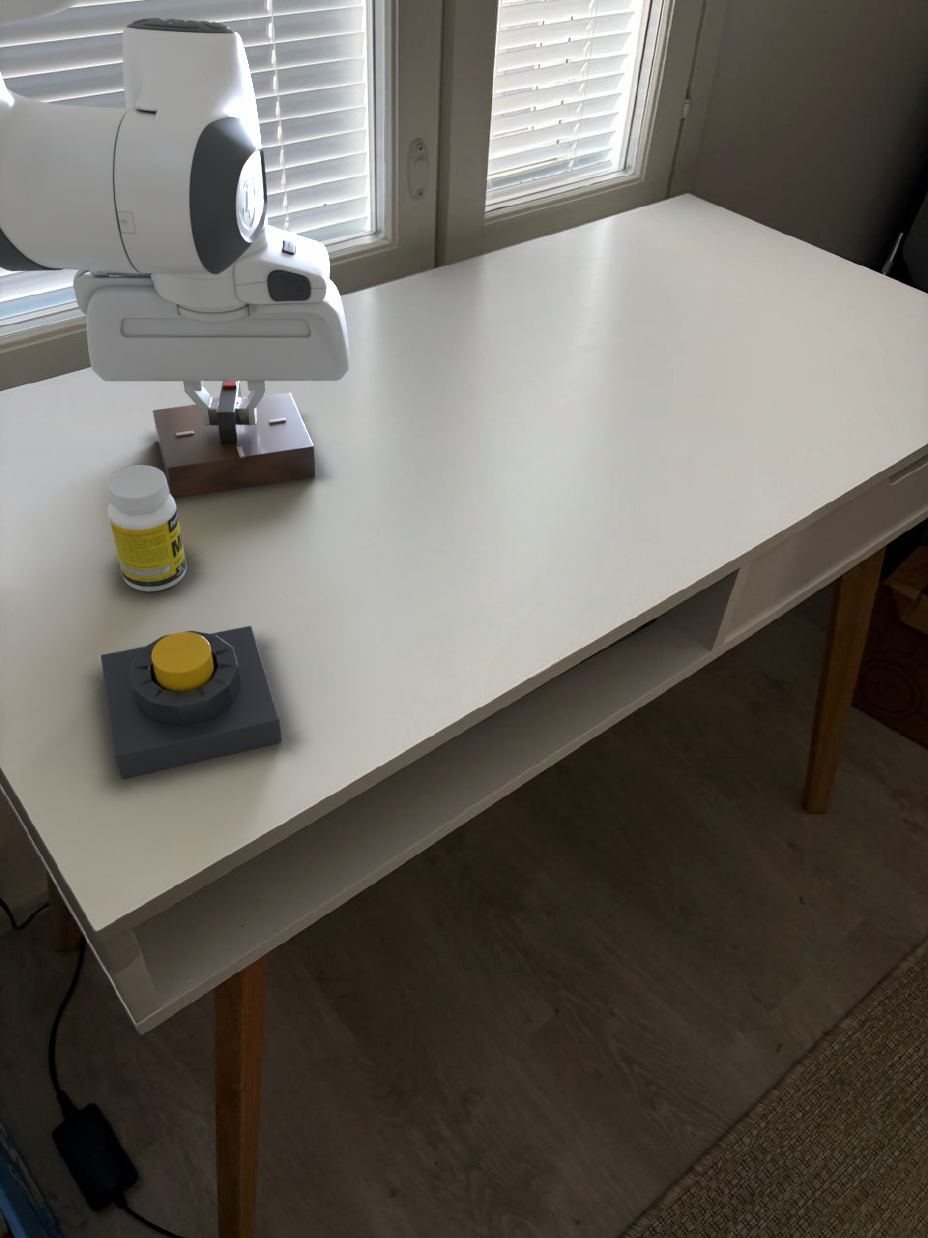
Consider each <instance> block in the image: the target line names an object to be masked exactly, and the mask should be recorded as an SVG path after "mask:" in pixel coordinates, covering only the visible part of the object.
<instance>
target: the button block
mask: <svg viewBox="0 0 928 1238" xmlns="http://www.w3.org/2000/svg"><path fill="white" fill-rule="evenodd" d="M185 632H190V633H195V634H198V635H201V636H202V637H204V638H205V639H206V640H207V641H208V642H209V644H210V647H211V653H212V659H213V665H214V671H213V674H212V676H211V678H210V679H209V680H208V681H207V682H206V683H205V684H204V685H202V686H201V687H199V688H197V689H192V690H188V691H183V692H177V691H171V690H168V689H166V688H164V687H163V686H161V685H160V684H159V682H158V681H157V679H156V676H155V671H154V667H153V662H152V657H151V655H152V650H153V648H154V647H155V645H156V644H157V643H158V642H159V641H160V640H161V639H163V638H165V637H166V636H169V635H171V634H172V633H170V634H164V635H161V636H160V637H159V638H157V639H155V640H154V641H152V642H150V643H148V644H147V645H145V646H144V645H143V646H139V647H134V648H129V649H123V650H119V651H115V652H109V653H104V654H100V662H101V669H102V676H103V683H104V690H105V697H106V704H107V712H108V719H109V726H110V733H111V734H110V735H111V740H112V747H113V754H114V759H115V764H116V766H117V770H118V774H119V776H120V779H126V778H130V777H131V778H132V777H135V776H140V775H144V774H148V773H153V772H157V771H161V770H166V769H170V768H174V767H179V766H184V765H187V764H192V763H197V762H201V761H205V760H210V759H214V758H218V757H222V756H223V757H224V756H226V755H227V756H228V755H231V754H235V753H239V752H244V751H245V752H246V751H249V750H252V749H258V748H262V747H266V746H270V745H275V744H279V743H282V741H283V739H282V728H281V719H280V716H279V712H278V709H277V706H276V702H275V700H274V695H273V692H272V689H271V686H270V682H269V679H268V675H267V672H266V668H265V665H264V662H263V658H262V655H261V652H260V649H259V645H258V641H257V638H256V635H255V632H254V629H253V626H252V625H248V626H243V627H242V626H241V627H237V628H232V629H227V630H223V631H216V632H212V633H208V632H202V631H196V630H186V631H185Z"/></svg>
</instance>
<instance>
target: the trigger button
mask: <svg viewBox="0 0 928 1238" xmlns="http://www.w3.org/2000/svg"><path fill="white" fill-rule="evenodd" d="M170 634H171V635H170ZM170 634H168V635H169V636H166V637H165V638H163V639H161V640H160V641H159V642H158V643H157V644H156V645H155V647H154V648H153V650H152V655H151V657H152V662H153V667H154V671H155V676H156V679H157V681H158V682H159V684H160V685H161V686H163V687H164V688H166V689H168V690H171V691H177V692H183V691H188V690H192V689H197V688H199V687H201V686H202V685H204V684H205V683H206V682H207V681H208V680H209V679H210V678H211V676H212V674H213V671H214V665H213V659H212V653H211V647H210V644H209V642H208V641H207V640H206V639H205V638H204V637H202V636H201V635H198V634H195V633H190V632H186V631H181V632H176V633H170Z"/></svg>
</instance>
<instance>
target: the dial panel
mask: <svg viewBox="0 0 928 1238" xmlns="http://www.w3.org/2000/svg"><path fill="white" fill-rule="evenodd" d="M256 409H257V422H256V425H240V431H239V437H238V443H237V444H228V443H221V442H220V435H219V427H218V425H204V423H203V416H202V410H201V409H200V408H199V407H198V406H197V405H196V404H190V405H182V406H174V407H166V408H160V409H153V410H152V416H153V421H154V427H155V432H156V437H157V442H158V446H159V451H160V455H161V459H162V462H163V463H162V464H163V467H164V470H165V471H164V472H165V474H166V475H165V476H166V480H167V484H168V488H169V492H170V495H171V496H172V497H173V499H176V498H184V497H189V496H194V495H195V496H196V495H202V494H209V493H215V492H221V491H227V490H234V489H240V488H241V489H242V488H246V487H254V486H259V485H265V484H273V483H278V482H284V481H292V480H298V479H305V478H311V477H315V476H316V461H315V446H314V443H313V440H312V439H311V437H310V434H309V432H308V430H307V428H306V425H305V422H304V421H303V418H302V416H301V413H300V411H299V409H298V407H297V404H296V402H295V400H294V398H293V396H292V393H291V392H288V391H287V392H282V393H273V394H266V395H265V394H264V395H263V397H262V398H261V400H260V402H259V403H258V405H257V407H256Z"/></svg>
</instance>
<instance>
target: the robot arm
mask: <svg viewBox="0 0 928 1238" xmlns="http://www.w3.org/2000/svg"><path fill="white" fill-rule="evenodd" d="M82 1H83V0H0V28H2V27H6V26H10V25H13V24H18V23H23V22H27V21H28V22H29V21H34V20H37V19H38V20H39V19H43V18H47V17H50V16H54V15H56V14H59V13H61V12H63V11H66V10H68V9H69V8H71V7H74V6H75V5H77V4H78V3H81V2H82ZM121 48H122V76H123V77H122V78H123V91H124V103H125V108H120V107H103V106H91V105H90V106H89V105H88V106H87V105H71V104H58V103H57V104H56V103H51V102H45V101H41V100H36V99H34V98H29V97H26V96H24V95H21V94H18V93H16V92H14V91H12V90H11V89H9V88H7V87H6V84H5V81H4V79H3V76H2V72H1V71H0V268H2V269H3V270H5V271H9V272H41V271H42V272H44V271H47V272H48V271H63V270H76V271H77V272H75V275H74V277H73V281H72V283H73V284H72V287H73V291H74V295H75V300H76V303H77V306H78V308H79V310H80V312H82V313H83V315H85V316H86V342H87V348H88V358H89V363H90V369H91V370H92V372H93V373H94V374H96V376H98V377H99V378H100V379H101V380H102V381H104V382H182V383H183V389H184V392H185V394H186V395H187V397H189V398H190V400H191V401H192V402H193V403H194V405H197V406H198V407H199V408H200V409H201V410H202V416H203V423H204V425H218V419H217V408H218V403H219V398H220V397H212V396H211V395H210V394H209V392H208V391H207V389H206V388H205V386H204V382H223V381H239V382H246V383H247V390H248V391H249V394H248V396H247V397H241V398H238V404H237V416H238V425H256V422H257V409H256V407H257V405H258V403H259V402H260V400H261V398H262V397H263V396H265V393H266V391H267V383H268V382H337V381H340V380H342V379H343V378H344V377H345V375H346V374H347V373H348V371H349V370H350V351H349V350H350V349H349V337H348V329H347V322H346V317H345V311H344V310H345V309H344V306H343V302H342V298H341V295H340V293H339V290H338V288H337V286H336V285H335V284H334V282H333V281H332V280H331V279H330V275H331V267H330V266H331V265H330V259H329V254H328V251H327V249H326V247H325V245H324V244H323V243H322V242H318V241H317V240H314V239H310V238H307V237H304V236H300V235H297V234H295V233H291V232H288V231H286V230H282V229H279V228H277V227H274V226H271V225H268V216H267V211H268V187H267V174H266V164H265V154H264V153H265V152H264V148H263V146H262V144H261V133H260V124H259V118H258V111H257V103H256V98H255V92H254V91H255V90H254V86H253V82H252V78H251V72H250V68H249V63H248V59H247V55H246V52H245V48H244V44H243V41H242V38H241V36H240V34H239V33H238V32H236V31H235V30H233V29H232V28H230V27H229V26H228V25H225V24H224V23H220V22H216V21H207V20H194V19H193V20H191V19H176V18H159V17H148V18H140V19H137V20H134V21H132V22H131V23H129V24H128V25H126V26H124V27H123V30H122V47H121Z"/></svg>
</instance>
